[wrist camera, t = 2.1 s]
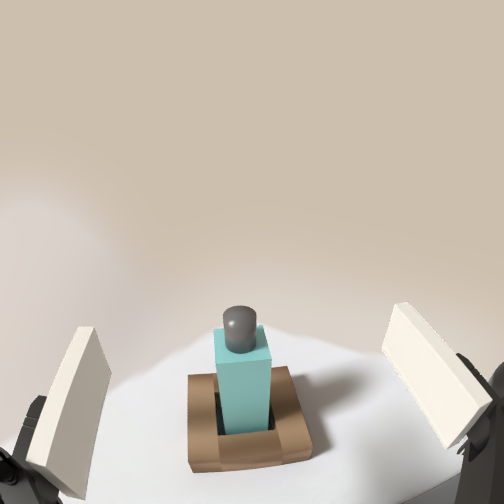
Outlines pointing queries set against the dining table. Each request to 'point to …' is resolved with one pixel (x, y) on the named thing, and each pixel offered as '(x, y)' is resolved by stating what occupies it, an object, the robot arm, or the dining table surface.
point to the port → (439, 493)
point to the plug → (243, 371)
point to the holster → (247, 444)
